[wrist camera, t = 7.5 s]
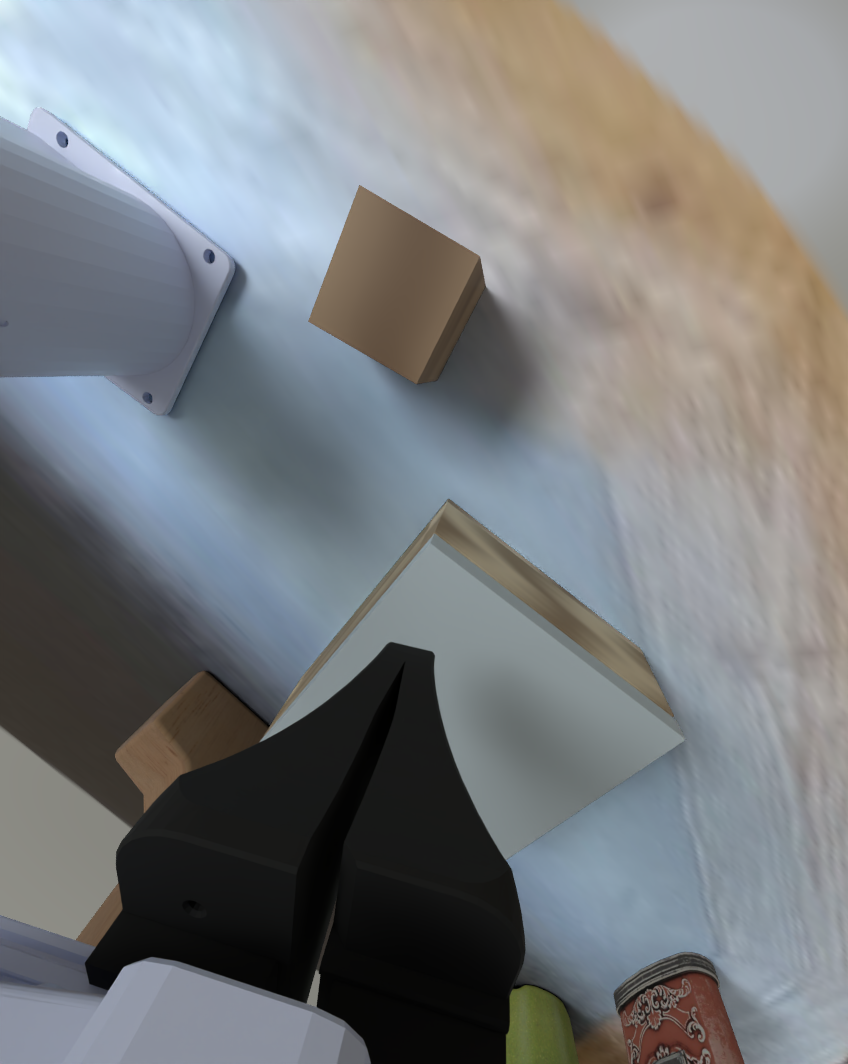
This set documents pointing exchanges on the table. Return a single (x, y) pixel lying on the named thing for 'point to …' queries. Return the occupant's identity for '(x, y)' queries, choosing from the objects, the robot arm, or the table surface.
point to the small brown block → (398, 289)
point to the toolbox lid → (505, 696)
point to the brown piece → (524, 585)
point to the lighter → (676, 1014)
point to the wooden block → (179, 754)
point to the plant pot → (539, 1029)
